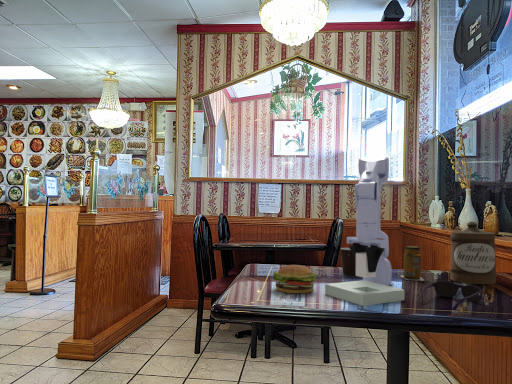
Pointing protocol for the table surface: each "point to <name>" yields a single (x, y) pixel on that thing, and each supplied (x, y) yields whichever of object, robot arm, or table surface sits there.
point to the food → (294, 279)
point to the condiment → (412, 263)
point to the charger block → (363, 266)
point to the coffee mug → (348, 262)
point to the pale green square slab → (364, 292)
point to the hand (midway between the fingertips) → (366, 270)
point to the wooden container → (473, 256)
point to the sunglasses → (451, 290)
